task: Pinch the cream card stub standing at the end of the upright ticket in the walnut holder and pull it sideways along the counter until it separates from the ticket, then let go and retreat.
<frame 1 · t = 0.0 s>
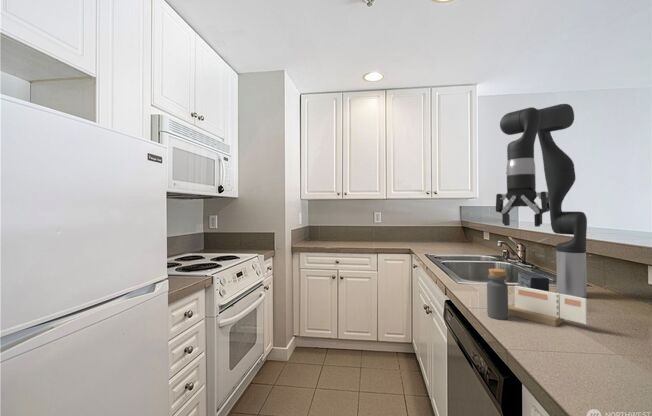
hand: (521, 226, 93), 29 cm above the countertop, fingers open, 8 cm apart
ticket: (536, 318, 94), on the countertop
bottle: (497, 317, 96), on the countertop
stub: (572, 308, 87), point 5 cm above the countertop, slide at 0.0 cm
small box: (533, 303, 110), on the countertop
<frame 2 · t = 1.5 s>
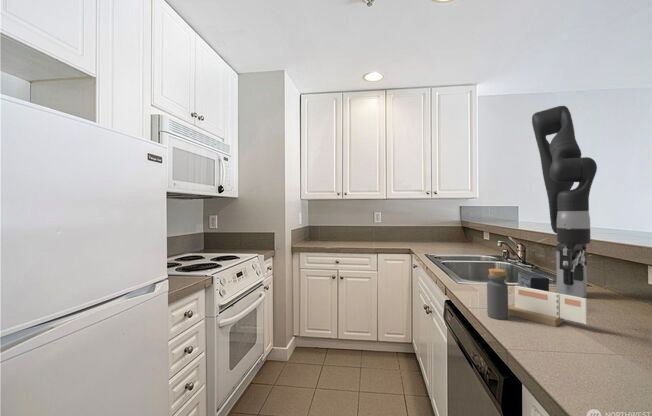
hand: (573, 282, 86), 13 cm above the countertop, fingers open, 8 cm apart
nothing on the countertop moved.
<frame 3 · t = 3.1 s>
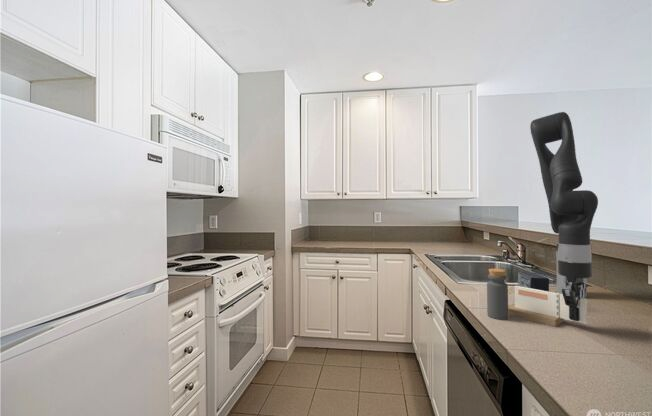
hand: (575, 319, 86), 3 cm above the countertop, fingers closed
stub: (572, 308, 87), point 5 cm above the countertop, slide at 0.0 cm, touching gripper
everything else where it was.
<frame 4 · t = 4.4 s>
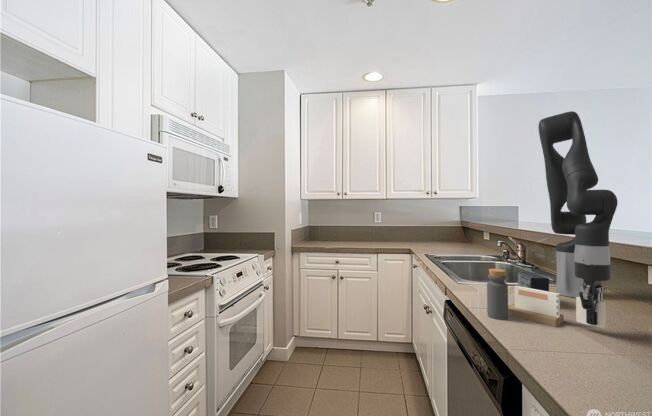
hand: (592, 323, 83), 3 cm above the countertop, fingers closed
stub: (590, 312, 84), point 5 cm above the countertop, slide at 3.9 cm, touching gripper
everything else where it was.
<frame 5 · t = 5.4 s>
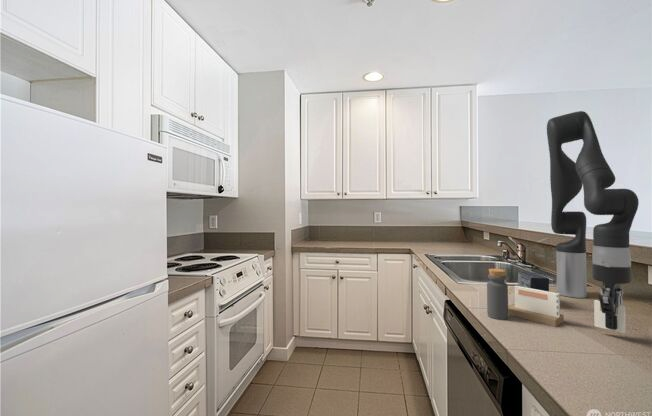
hand: (612, 327, 80), 3 cm above the countertop, fingers closed
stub: (609, 316, 80), point 5 cm above the countertop, slide at 7.8 cm, touching gripper
everything else where it was.
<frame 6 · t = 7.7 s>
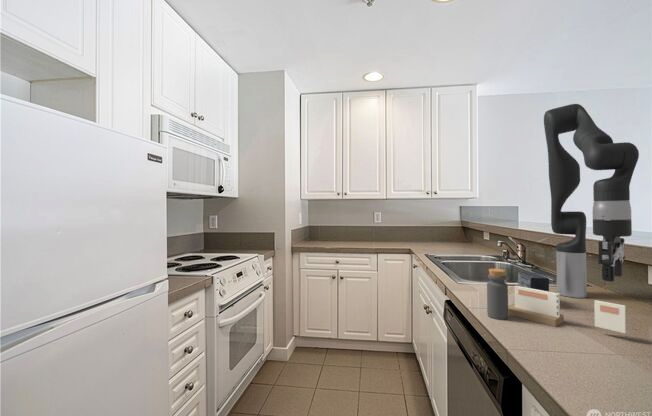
hand: (612, 278, 80), 16 cm above the countertop, fingers open, 8 cm apart
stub: (609, 316, 80), point 5 cm above the countertop, slide at 7.9 cm
everything else where it was.
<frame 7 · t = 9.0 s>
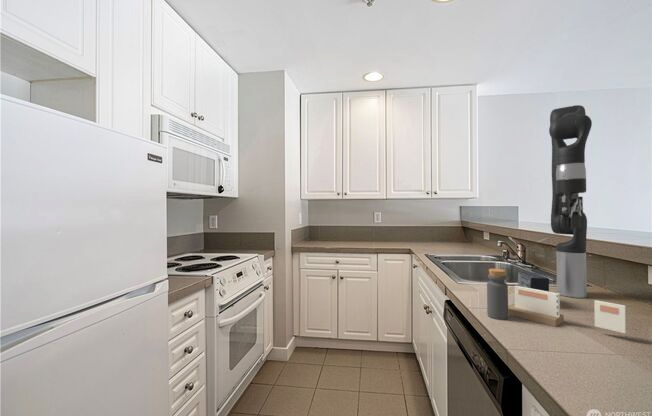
hand: (571, 228, 96), 28 cm above the countertop, fingers open, 8 cm apart
nothing on the countertop moved.
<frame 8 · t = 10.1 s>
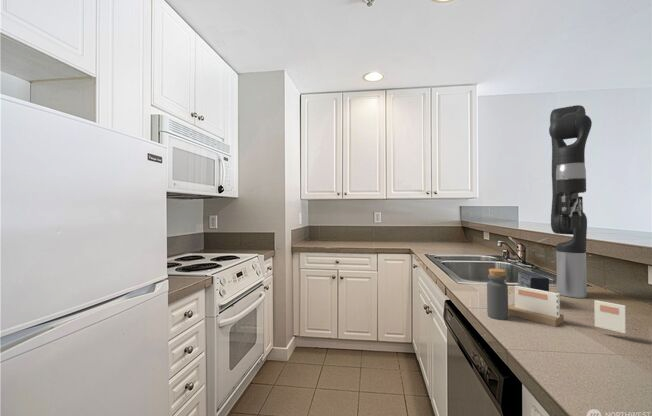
hand: (571, 228, 96), 28 cm above the countertop, fingers open, 8 cm apart
nothing on the countertop moved.
at the end: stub slide at 7.9 cm; the gripper is holding nothing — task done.
